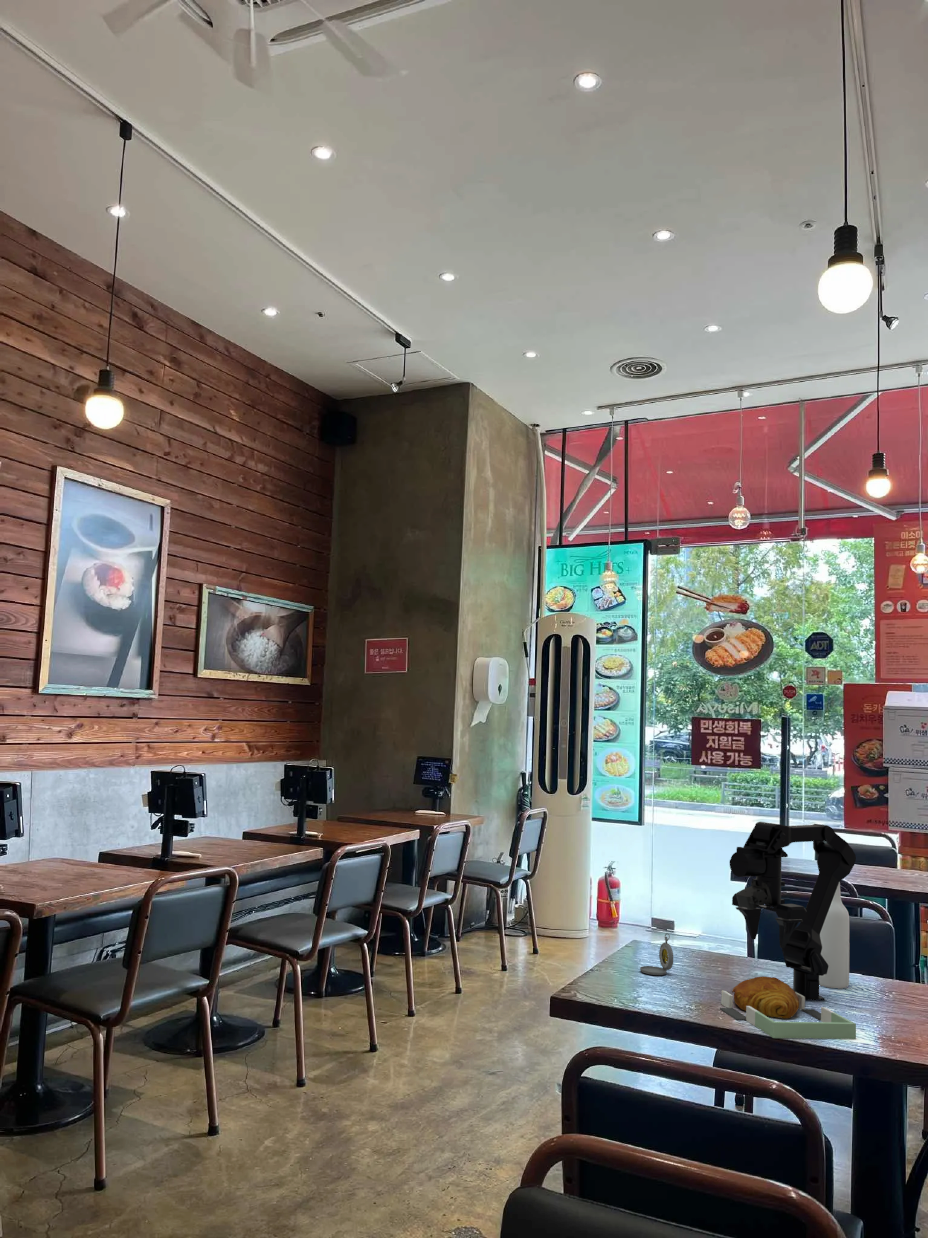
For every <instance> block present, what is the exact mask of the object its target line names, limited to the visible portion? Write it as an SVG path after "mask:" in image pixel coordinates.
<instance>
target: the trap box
mask: <svg viewBox="0 0 928 1238" xmlns="http://www.w3.org/2000/svg"><path fill="white" fill-rule="evenodd" d="M795 993H796V994H797V996H798V999H799V1001H798V1002H799V1008H798V1010H800V1011H802V1012H803V1013H806V1014H807V1015H809V1016H810V1017H812V1018H815V1019H817V1020H818V1021H816V1022H815V1021H814V1022H813V1021H812V1022H811V1021H775V1020H773V1019H772V1018H771V1017H767V1016H765V1015H764V1014H762V1013H760V1012H759V1011H757V1010H755V1009H754V1008H752V1007H751V1006H746V1011H745V1015H744V1014H742V1012H739V1011H738V1010H736V1009H735V1008H733V1006H734V1003H733V1001H734V994H733V995H732V994H731V993H729V992H728V991H726V990H721V1005H722V1006H724V1007H720V1008H719V1010H721V1011H722V1012H724V1014H727V1015H728V1016H730V1017H731V1018H733V1019H734V1020H735V1021H746V1022H747V1023H749V1024H751V1025H752V1026H754V1027H756V1028H757V1029H759V1030H760V1029H761V1030H760V1031H762V1032H763V1031H764V1032H763V1033H765V1034H766V1035H768V1036H769V1037H771V1038H772V1039H810V1038H813V1040H814V1039H818V1040H819V1039H824V1040H827V1039H828V1040H829V1039H830V1040H831V1039H833V1040H834V1039H835V1040H836V1039H837V1040H854V1039H855V1040H856V1039H857V1023H856V1022H854V1021H851V1020H849V1019H847V1018H846V1017H844V1016H842V1015H840V1014H838V1013H836V1012H834V1011H832V1010H830V1009H829V1008H827V1007H825V1006H821V1007H820V1011H818V1010H816V1009H815V1008H806V1000H805V997H804V996H803V995H801V994H799V993H797V992H795Z"/></svg>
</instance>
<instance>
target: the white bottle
mask: <svg viewBox="0 0 928 1238" xmlns="http://www.w3.org/2000/svg"><path fill="white" fill-rule="evenodd" d="M820 939H821V944H822V950H821V955H822V957H823V958H824V960H825V961H826V963H827V964H828V971H827V974H824V976H820V975H819V985H820V986H819V987H822V986H824V987H823V988H828V989H833V988H838V989H837V990H842V989H843V988H845V989H847V988H848V986H849V985H850V915H849V911H848V909H847V908H846V906H845V905H844V904H843V901H842V894H841V881H840V882H839V884H838V886H837V889H836V892H835V895H834V897H833V900H832V903H831V905H830V908H829V911H828V913H827V916H826V919H825V921H824V924H823V927H822V929H821V932H820ZM843 990H844V989H843Z"/></svg>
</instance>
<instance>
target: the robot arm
mask: <svg viewBox="0 0 928 1238" xmlns="http://www.w3.org/2000/svg"><path fill="white" fill-rule="evenodd" d="M804 842H805V843H806V842H808V843H809V842H810V843H811V842H812V848H813V849H812V850H813V851H814V852H815V853H816V855H817V859H816V865H817V869H818V875H817V878H816V880H815V882H814V886H813V888H812V891H811V894H810V896H809V899H808V901H807V904H806V907H805V906H803V905H801V904H800V905H799V904H794V903H786V901H785V899H783V898H782V887H785V886H786V882H785V881H784V880H783V881H782V859H783V858H788V857H789V855H788V853H787V852H786V851H785V850H784V849H783V848H786V847H789V846H790V845H791V844H792V843H793V844H794V843H804ZM825 842H826V843H825ZM856 861H857V855H856V854H855V851H854V849H853V848H852V847H851V846H850V844H849V843H848V842H847V841H846V840H845V839H843V837H841V836H840V835H838V834H837V833H836V832H835V830H834V828H832V827H831V826H830V825H828V824H820V823H819V824H818V823H813V824H804V825H803V824H801V825H797V824H796V825H784V824H779V823H772V822H765V821H758V822H756V823H755V825H754V827H753V829H752V830H751V832H750V834H749V835H748V838H747V839H746V841H745V843H744V844H743V846H736V851H735V852H734V853H733V854H731V857H730V859H729V868H730V871H731V873H732V874H733V876H736V877H737V878H741V877H742V878H743V877H744V878H745V877H748V878H749V877H750V878H752V877H753V878H752V880H751V881H750V883H751V885H750V886H749V887H744V888H743V889H742V890H739V891H738V892H737V891H736V893H734V894H733V896H732V898H731V899H732V900H731V905H732V906H735V909H736V910H737V911H739V912H740V913H741V914H742V916H743V917H744V919H745V920H744V921H745V923H746V926H747V930H748V933H749V936H750V939H751V940H756V939H757V935H758V930H759V924H760V920H761V914H762V909H763V910H766V911H771V912H775V914H776V916H777V917H775V920H776V922H777V924H778V927H779V930H778V931H779V933H778V935H779V936H778V937H779V940H778V941H779V947H780V949H781V952H782V956H783V960H784V964H785V967H786V968H790V969H793V972H792V973H793V974H792V976H793V979H792V981H793V982H792V983H793V986H792V989H793V990H794V991H795V992H797V993H799V994H801V995H803V996H804V997H805V1001H825V1000H826V998H825V997H823V996H821V995H820V986H819V975H820V976H824V974H827V971H828V964H827V963H826V961H825V960H824V958H823V957H822V955H821V950H822V944H821V939H820V932H821V929H822V927H823V924H824V921H825V919H826V916H827V913H828V911H829V908H830V905H831V903H832V900H833V897H834V895H835V892H836V889H837V886H838V884H839V882H840V883H841V882H842V880H844V879H845V878H847V876H849V875H850V873H851V872H852V870H853V868H854V866H855V863H856ZM754 877H755V878H754Z"/></svg>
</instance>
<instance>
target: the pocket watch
mask: <svg viewBox="0 0 928 1238" xmlns="http://www.w3.org/2000/svg"><path fill="white" fill-rule="evenodd" d="M670 936H671V935H670V934H669V933H667V932H666V933H665V934H664V940H665V942H663V943H662V944H661V945H660V947H659V950H658V952H659V954H658V958H659V962H660V965H661V967H660V966H653V965H644V966H642V965H641V966H639V967H640V968H639V971H640V972H642V973H644V974H646V975H652V976H663V975H666V974H667V971H669V970H671V969H672V967H673V965H674V952H673V948H672V946H671V944H670V943H668V941H669V940H670Z"/></svg>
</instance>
